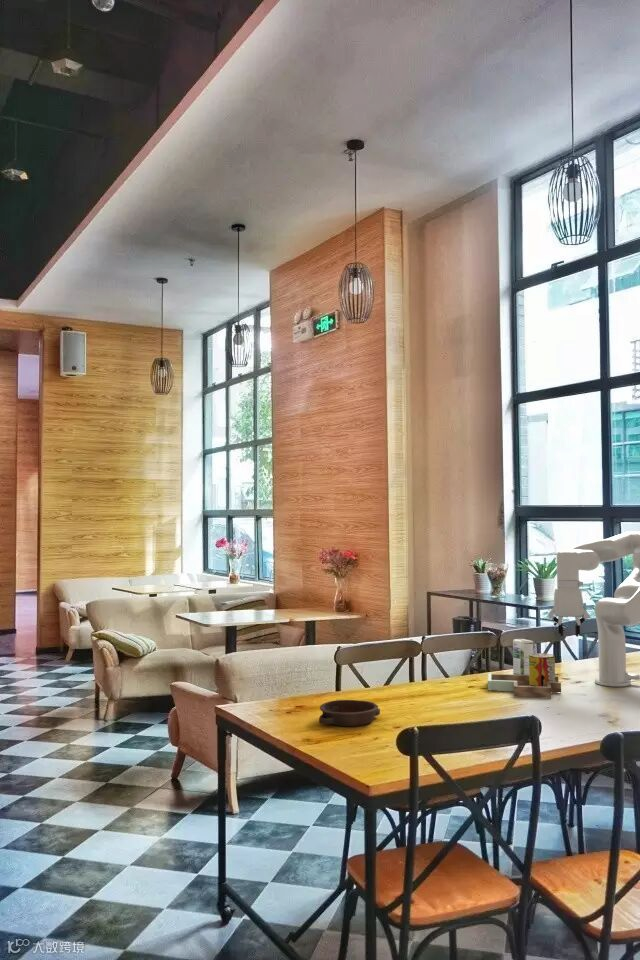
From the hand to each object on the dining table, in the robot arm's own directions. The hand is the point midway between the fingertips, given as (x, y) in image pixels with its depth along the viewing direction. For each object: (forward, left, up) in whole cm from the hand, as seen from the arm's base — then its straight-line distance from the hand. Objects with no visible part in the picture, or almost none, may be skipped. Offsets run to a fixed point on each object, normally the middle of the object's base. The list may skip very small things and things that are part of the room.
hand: (569, 635), depth 287 cm
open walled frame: (+16, +4, -19) cm, 25 cm away
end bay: (+24, 0, -19) cm, 31 cm away
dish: (+70, +60, -20) cm, 94 cm away
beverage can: (+10, 0, -20) cm, 22 cm away
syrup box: (+16, -20, -20) cm, 32 cm away
